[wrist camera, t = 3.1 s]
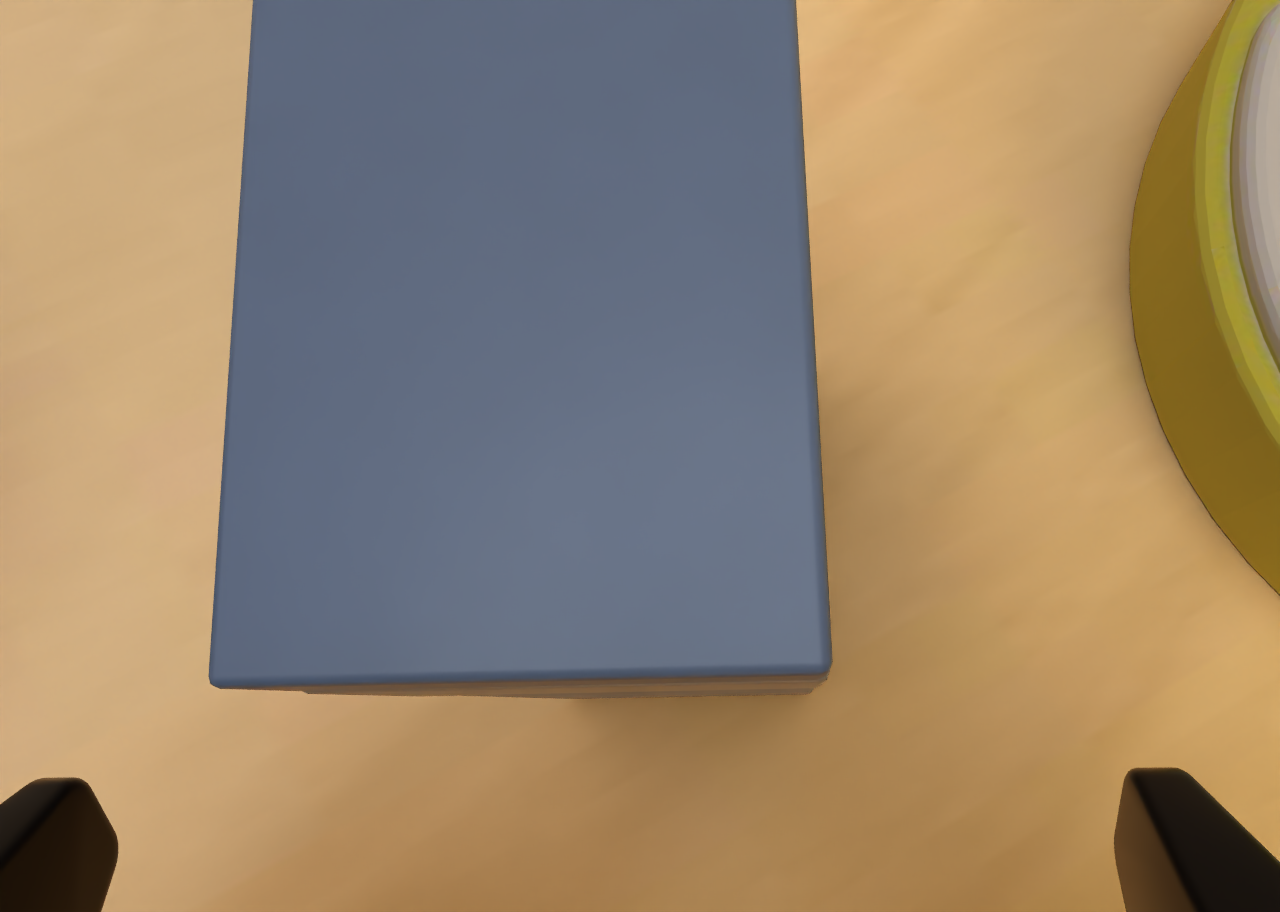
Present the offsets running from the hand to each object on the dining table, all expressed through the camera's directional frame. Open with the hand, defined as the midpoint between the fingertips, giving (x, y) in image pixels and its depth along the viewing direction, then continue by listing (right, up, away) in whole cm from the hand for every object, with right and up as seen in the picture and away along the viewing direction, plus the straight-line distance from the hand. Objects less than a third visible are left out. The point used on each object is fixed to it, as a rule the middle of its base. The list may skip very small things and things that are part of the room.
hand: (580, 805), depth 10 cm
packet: (+1, +2, +11) cm, 11 cm away
